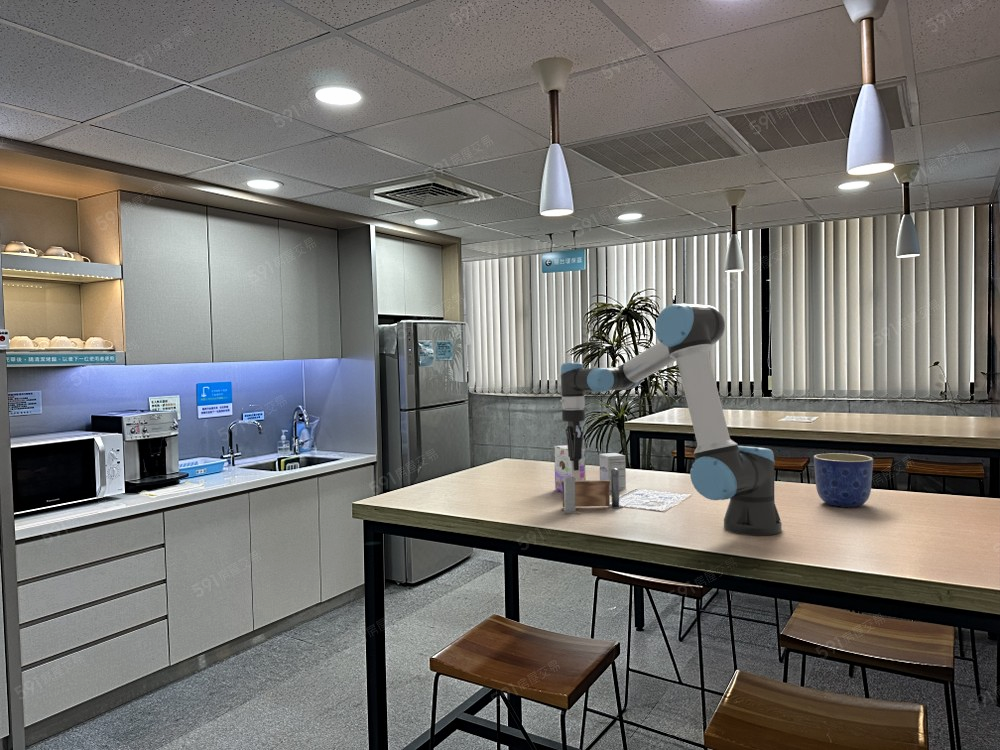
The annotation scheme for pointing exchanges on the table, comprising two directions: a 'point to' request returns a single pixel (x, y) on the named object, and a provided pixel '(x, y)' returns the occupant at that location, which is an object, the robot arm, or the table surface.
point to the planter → (843, 478)
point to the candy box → (565, 465)
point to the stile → (569, 495)
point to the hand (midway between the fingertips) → (575, 479)
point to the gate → (591, 493)
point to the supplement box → (611, 462)
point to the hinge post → (615, 489)
